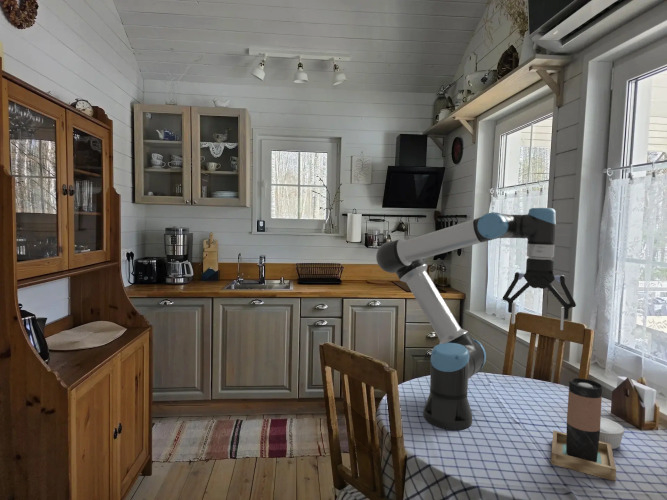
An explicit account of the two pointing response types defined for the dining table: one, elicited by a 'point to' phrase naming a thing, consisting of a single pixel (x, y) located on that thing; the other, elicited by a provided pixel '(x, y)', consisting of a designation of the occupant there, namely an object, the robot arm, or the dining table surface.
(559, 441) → the tray
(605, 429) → the ramekin
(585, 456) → the travel mug
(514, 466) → the dining table surface
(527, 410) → the dining table surface
